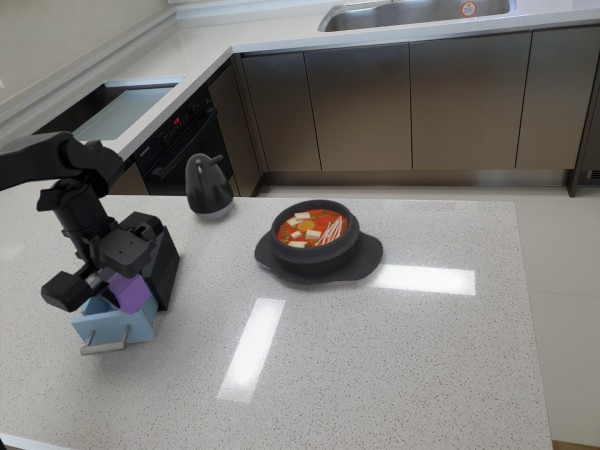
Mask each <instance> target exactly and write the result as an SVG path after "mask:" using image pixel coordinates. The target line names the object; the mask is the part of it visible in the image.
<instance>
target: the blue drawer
mask: <svg viewBox="0 0 600 450" xmlns="http://www.w3.org/2000/svg"><path fill="white" fill-rule="evenodd" d="M144 282H145V284H146V286H147V287H148V289H149V291H150V293H151V296H150V297H149V298H148V299H147V300H146V301H145V302H144V303H143V304H142V305H141V306H140V307H139V308H138V309H137V310H136V311H135V312H134V313H133V314H132V315H130V314H127V313H125V312H122V311H119V310H117V309H114V308H112V307H111V305H110V304H108V303H107V302H105V301H104V300H102V299H101V298H99V297H97V296H96V297H94V298H89V299H88V300H87V301H86V302H85V303H84V304H83V305H82V306H81V307H82V308H81V310H80V313H81V316H73V317H72V319H71V321H70V324H71V326H72V327H73V328H74V330H75V331H76V333H77V334H78V335H79V337H80V338H81V340H82V341H83V343H84V346H81V347H80V349H79V354H80V356H82V357H85V356H91V355H97V354H105V353H112V352H118V351H123V350H124V351H125V350H127V349H128V344H133V343H139V342H146V341H153V340H155V337H156V332H155V330H154V329H153V327H154V323H155V320H156V317H157V313H158V312H157V309H158V305H159V302H158V300H157V298H156V296H155V294H154V292H153V291H152V289H151V287H150V285H149V283H148V281H144Z"/></svg>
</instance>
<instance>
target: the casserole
mask: <svg viewBox="0 0 600 450" xmlns="http://www.w3.org/2000/svg"><path fill="white" fill-rule="evenodd" d="M360 229H361V226H360V222H359V220H358V218H357V216H356V215H355V214H353V213H352V212H351V210H350V209H349V208H348V207H347V206H346V205H344V204H342V203H341V202H338V201H335V200H332V199H324V198H323V199H322V198H321V199H320V198H319V199H318V198H317V199H309V200H304V201H299V202H297V203H294V204H292V205H290V206H288V207H287V208H285V209H283V210H282V211H281V212H279V213H278V215H276V217H275V218H274V219H273V221H272V223H271V227H270V229H269V231H267V232H266V233H264V234H263V236H262V237H260V239H259V241H258V242H257V244H256V245H255V248H254V253H253V256H254V258H255V260H256V262H258V263H260V264H261V265H263V266H265V267H267V268H268V269H270V271H272V272H273V273H274V274H275V275H276V276H278V278H280V279H283V280H284V281H285V282H289V283H291V284H295V285H302V286H317V285H323V284H330V283H336V282H358V281H361V280H363V279H366V278H367V277H368V276H370V275H371V274H372V273H373V272H374V271H375V270H376V269H377V268H378V266H379V264H380V263H381V262H382V259H383V255H384V246H383V243H382V241H381V240H380V239H379V238H377V237H375V236H373V235H370V234H368V233H365V232H363V231H361V230H360Z"/></svg>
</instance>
